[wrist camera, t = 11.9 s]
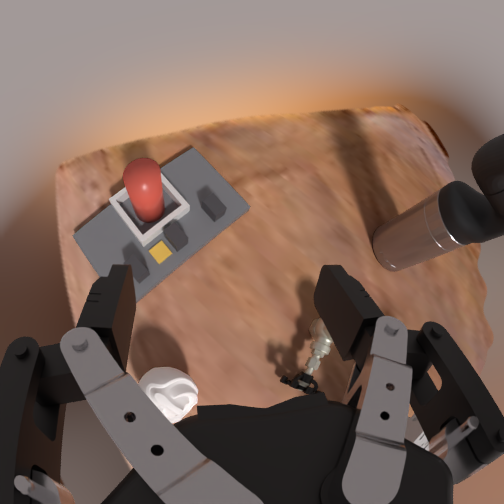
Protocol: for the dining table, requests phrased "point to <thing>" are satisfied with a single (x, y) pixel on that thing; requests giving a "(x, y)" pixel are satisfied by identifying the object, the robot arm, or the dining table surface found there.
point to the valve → (312, 358)
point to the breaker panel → (163, 223)
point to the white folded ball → (170, 391)
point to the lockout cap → (145, 189)
